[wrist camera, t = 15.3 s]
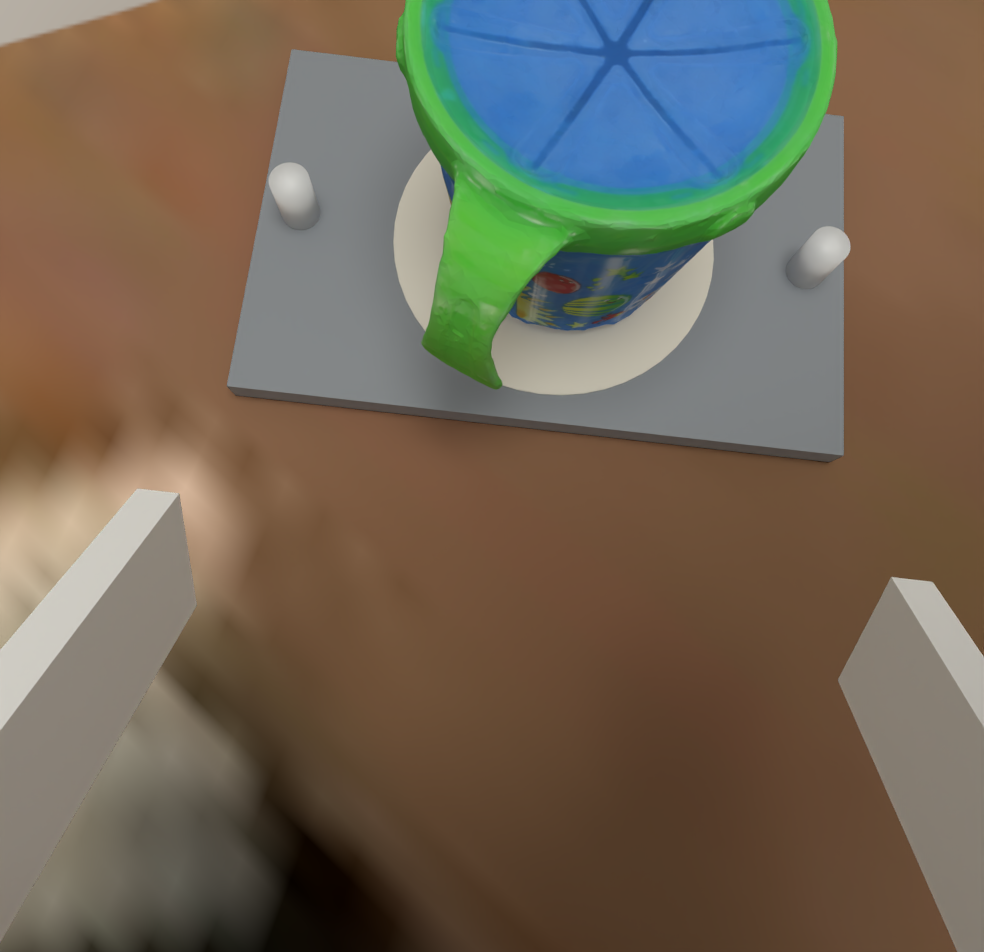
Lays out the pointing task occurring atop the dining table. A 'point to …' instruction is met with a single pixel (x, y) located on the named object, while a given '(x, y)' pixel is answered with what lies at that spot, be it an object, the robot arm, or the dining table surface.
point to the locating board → (516, 345)
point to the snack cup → (600, 146)
